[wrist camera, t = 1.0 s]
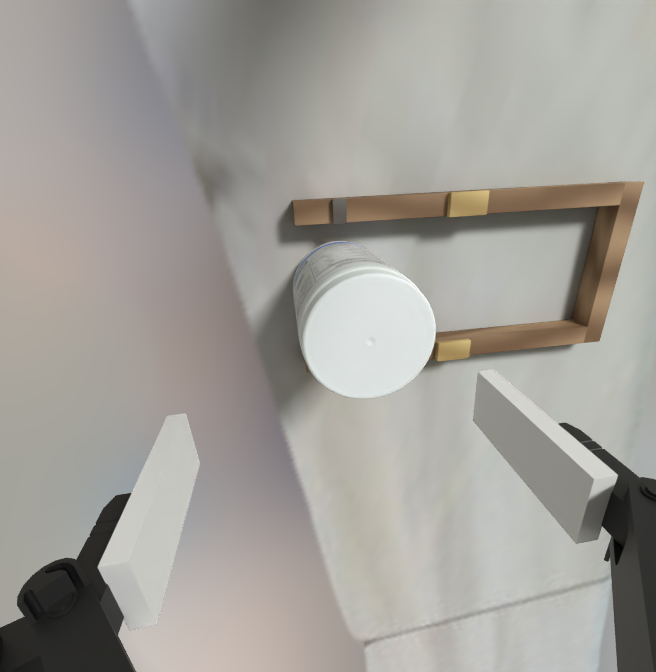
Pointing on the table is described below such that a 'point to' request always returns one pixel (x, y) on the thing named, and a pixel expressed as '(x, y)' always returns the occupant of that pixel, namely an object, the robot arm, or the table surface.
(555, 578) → the table surface
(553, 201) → the beam track
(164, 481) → the robot arm
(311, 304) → the supplement tub
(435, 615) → the table surface
